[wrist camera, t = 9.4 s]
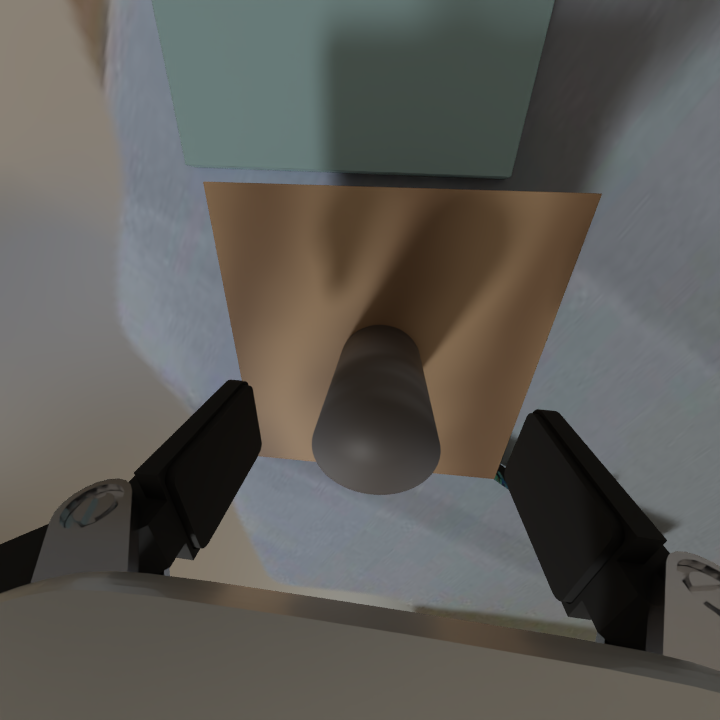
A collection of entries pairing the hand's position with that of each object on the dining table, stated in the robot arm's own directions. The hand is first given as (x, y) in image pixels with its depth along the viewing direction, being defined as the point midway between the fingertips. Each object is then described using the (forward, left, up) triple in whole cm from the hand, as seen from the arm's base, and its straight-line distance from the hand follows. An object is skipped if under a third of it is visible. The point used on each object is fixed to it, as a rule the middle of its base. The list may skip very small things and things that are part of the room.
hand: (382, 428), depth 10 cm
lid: (0, 0, -6) cm, 6 cm away
